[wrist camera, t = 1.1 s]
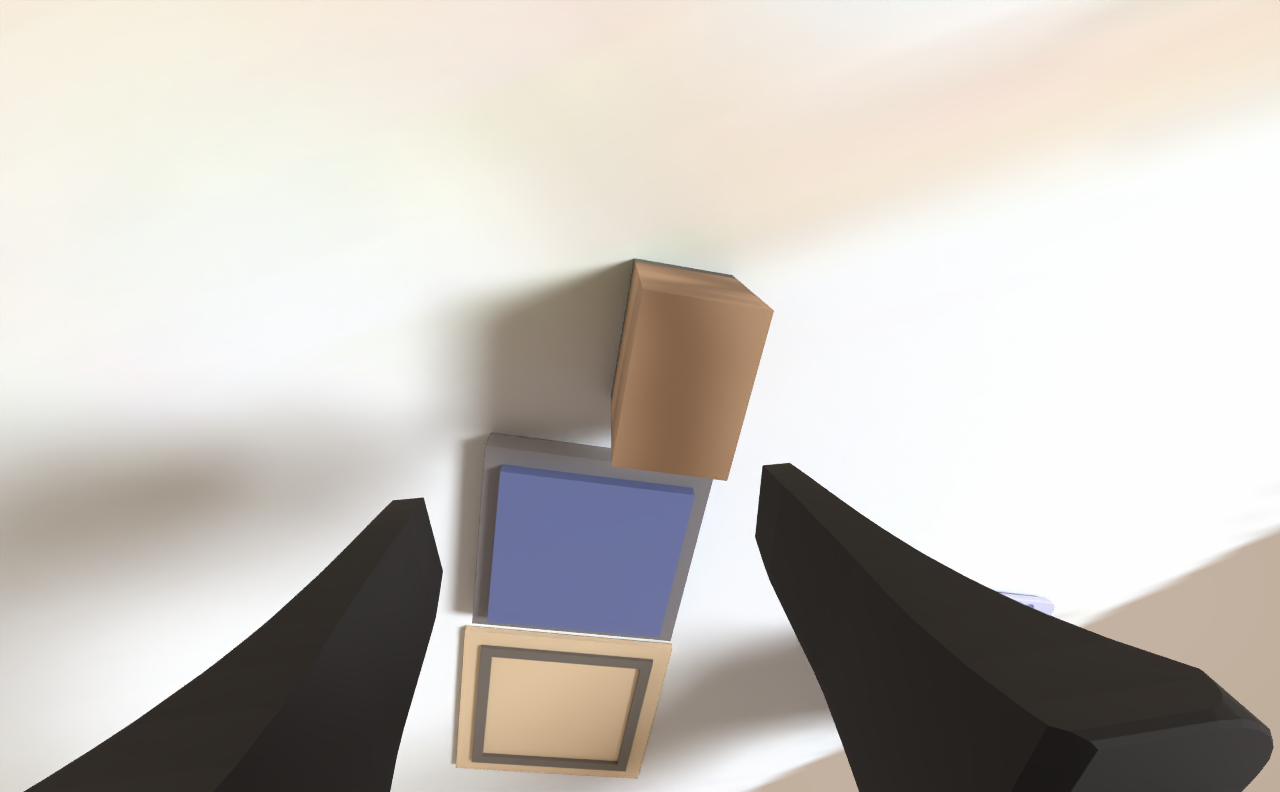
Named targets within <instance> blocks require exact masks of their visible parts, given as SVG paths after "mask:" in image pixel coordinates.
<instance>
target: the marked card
mask: <svg viewBox="0 0 1280 792" xmlns="http://www.w3.org/2000/svg"><path fill="white" fill-rule="evenodd" d="M671 651H672V644H665V643H654V642H643V641H632V640H620V639H609V638H598V637H587V636H576V635H564V634H553V633H542V632H531V631H520V630H508V629H497V628H486V627H475V626H466V629H465V638H464V654H463V669H462V684H461V699H460V714H459V730H458V745H457V760H456V768H469V769H486V770H503V771H520V772H536V773H553V774H570V775H587V776H604V777H621V778H637V779H638V775H639V771H640V767H641V764H642V760H643V756H644V752H645V749H646V745H647V741H648V738H649V734H650V730H651V726H652V723H653V719H654V715H655V711H656V708H657V704H658V700H659V696H660V693H661V689H662V685H663V681H664V678H665V674H666V670H667V666H668V663H669V659H670V655H671Z"/></svg>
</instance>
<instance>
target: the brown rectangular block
mask: <svg viewBox="0 0 1280 792" xmlns="http://www.w3.org/2000/svg"><path fill="white" fill-rule="evenodd" d="M773 312H774V310H773V309H771V308H770V307H769V306H768V305H767V304H765V303H764V302H763V301H762V300H761V299H760V298H758V297H757V296H756V295H755V294H754V293H752V292H751V291H750V290H749V289H748V288H747V287H745V286H744V285H743V284H742V283H741V282H739V281H738V280H737V279H736V278H735V277H734V276H732V275H728V274H722V273H716V272H710V271H704V270H699V269H693V268H687V267H681V266H675V265H670V264H664V263H658V262H652V261H646V260H640V259H635V258H634V264H633V270H632V276H631V282H630V288H629V294H628V299H627V305H626V311H625V317H624V323H623V329H622V335H621V341H620V347H619V353H618V359H617V365H616V371H615V377H614V383H613V389H612V395H611V466H614V467H622V468H629V469H637V470H645V471H653V472H661V473H669V474H677V475H685V476H693V477H701V478H709V479H717V480H725V481H727V479H728V475H729V472H730V468H731V465H732V461H733V457H734V454H735V450H736V446H737V443H738V439H739V435H740V432H741V428H742V425H743V421H744V417H745V414H746V410H747V406H748V403H749V399H750V395H751V392H752V388H753V385H754V381H755V377H756V374H757V370H758V366H759V363H760V359H761V356H762V352H763V348H764V345H765V341H766V337H767V334H768V330H769V326H770V323H771V319H772V316H773Z"/></svg>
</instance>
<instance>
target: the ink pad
mask: <svg viewBox="0 0 1280 792" xmlns="http://www.w3.org/2000/svg"><path fill="white" fill-rule="evenodd" d="M712 481H713V479H709V478H701V477H693V476H685V475H677V474H669V473H661V472H653V471H645V470H637V469H629V468H622V467H614V466H611V448H604V447H597V446H589V445H581V444H573V443H566V442H558V441H550V440H543V439H535V438H527V437H520V436H512V435H504V434H497V433H491V434H490V436H489V438H488V440H487V443H486V445H485V454H484V467H483V481H482V495H481V509H480V523H479V537H478V551H477V564H476V578H475V592H474V606H473V620H472V623H477V624H488V625H499V626H510V627H521V628H532V629H544V630H555V631H566V632H577V633H588V634H599V635H610V636H621V637H633V638H644V639H655V640H666V641H670V640H671V637H672V633H673V629H674V625H675V621H676V618H677V614H678V610H679V606H680V602H681V599H682V595H683V591H684V587H685V583H686V580H687V576H688V572H689V568H690V564H691V561H692V557H693V553H694V549H695V545H696V542H697V538H698V534H699V530H700V526H701V523H702V519H703V515H704V511H705V508H706V504H707V500H708V496H709V492H710V489H711V485H712Z"/></svg>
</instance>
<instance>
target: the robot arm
mask: <svg viewBox="0 0 1280 792" xmlns="http://www.w3.org/2000/svg"><path fill="white" fill-rule="evenodd" d="M755 538H756V541H757V544H758V548H759V551H760V554H761V557H762V560H763V563H764V566H765V569H766V571H767V574H768V577H769V580H770V582H771V584H772V586H773V588H774V590H775V592H776V595H777V597H778V599H779V601H780V603H781V605H782V607H783V609H784V611H785V613H786V615H787V617H788V620H789V622H790V624H791V626H792V628H793V630H794V632H795V634H796V636H797V638H798V640H799V642H800V644H801V646H802V648H803V650H804V652H805V654H806V656H807V659H808V661H809V663H810V665H811V667H812V669H813V671H814V673H815V675H816V678H817V680H818V682H819V684H820V687H821V689H822V691H823V693H824V696H825V699H826V701H827V704H828V707H829V709H830V712H831V715H832V717H833V720H834V723H835V725H836V728H837V731H838V733H839V736H840V739H841V741H842V744H843V747H844V750H845V753H846V755H847V758H848V761H849V764H850V767H851V770H852V772H853V775H854V778H855V781H856V784H857V787H858V789H859V792H1242V791H1243V790H1244V789H1245V788H1246V786H1248V784H1250V782H1251V781H1252V780H1253V779H1254V778H1255V777H1256V776H1257V775H1258V774H1259V773H1260V771H1261V770H1262V769H1263V767H1264V766H1265V765H1266V763H1267V762H1268V761H1269V759H1270V756H1271V753H1272V750H1273V739H1272V736H1271V732H1270V729H1269V728H1268V727H1267V726H1266V725H1264V724H1263V723H1262V722H1261V721H1260V720H1259V719H1257V718H1256V717H1255V716H1254V715H1253V714H1252V713H1250V712H1249V711H1248V710H1247V709H1246V708H1245V707H1244V706H1242V705H1241V704H1240V703H1239V702H1238V701H1237V700H1235V699H1234V698H1233V697H1232V696H1231V695H1230V694H1229V693H1227V692H1226V691H1225V690H1224V689H1223V688H1222V687H1221V686H1219V685H1218V684H1217V683H1216V682H1215V681H1214V680H1212V679H1211V678H1210V677H1209V676H1207V674H1205V673H1204V672H1203V671H1202V670H1200V669H1198V668H1195V667H1192V666H1189V665H1186V664H1184V663H1181V662H1177V661H1175V660H1171V659H1169V658H1166V657H1163V656H1160V655H1156V654H1154V653H1151V652H1147V651H1145V650H1142V649H1139V648H1136V647H1133V646H1130V645H1127V644H1124V643H1121V642H1118V641H1115V640H1112V639H1109V638H1106V637H1104V636H1101V635H1099V634H1096V633H1094V632H1091V631H1088V630H1086V629H1083V628H1081V627H1078V626H1075V625H1073V624H1070V623H1068V622H1065V621H1063V620H1060V619H1058V618H1055V617H1053V616H1050V615H1051V614H1052V612H1053V610H1054V604H1053V603H1052V602H1051V601H1050V600H1049V599H1048V598H1042V597H1033V596H1024V595H1015V594H1005V593H998V592H996V591H994V590H992V589H990V588H988V587H985V586H983V585H981V584H979V583H977V582H975V581H973V580H971V579H969V578H967V577H965V576H963V575H962V574H960V573H958V572H956V571H954V570H952V569H950V568H949V567H947V566H945V565H943V564H941V563H939V562H937V561H936V560H934V559H932V558H930V557H928V556H927V555H925V554H923V553H921V552H920V551H918V550H916V549H915V548H913V547H911V546H910V545H908V544H907V543H905V542H903V541H902V540H900V539H899V538H897V537H895V536H894V535H892V534H891V533H889V532H887V531H886V530H884V529H883V528H881V527H880V526H878V525H877V524H875V523H874V522H872V521H871V520H869V519H868V518H866V517H865V516H863V515H862V514H860V513H859V512H857V511H856V510H855V509H853V508H852V507H850V506H849V505H847V504H846V503H845V502H843V501H842V500H840V499H839V498H838V497H836V496H835V495H834V494H832V493H831V492H829V491H828V490H827V489H825V488H824V487H823V486H821V485H820V484H818V483H817V482H816V481H814V480H813V479H812V478H810V477H809V476H808V475H806V474H805V473H803V472H802V471H801V470H799V469H798V468H796V467H795V466H793V465H792V464H790V463H784V464H773V465H763V467H762V477H761V486H760V496H759V505H758V515H757V524H756V534H755ZM442 573H443V570H442V566H441V562H440V558H439V555H438V551H437V547H436V543H435V539H434V536H433V532H432V528H431V524H430V520H429V516H428V513H427V509H426V505H425V501H424V498H414V499H403V500H393V501H392V502H391V503H390V504H389V505H388V506H387V507H386V508H385V509H384V510H383V511H382V512H381V513H380V514H379V515H378V516H377V517H376V518H375V519H374V520H373V521H372V522H371V523H370V524H369V525H368V526H367V527H366V528H365V529H364V530H363V531H362V532H361V533H360V534H359V535H358V536H357V537H356V538H355V539H354V540H353V541H352V542H351V543H350V544H349V545H348V546H347V547H346V548H345V549H344V550H343V551H342V552H341V553H340V554H339V555H338V556H337V557H336V558H335V559H334V560H333V561H332V562H331V563H330V564H329V565H328V566H327V567H326V568H325V569H324V570H323V571H322V572H321V573H320V574H319V575H318V576H317V577H316V578H315V579H314V580H312V581H311V582H310V583H309V584H308V585H307V586H306V587H305V588H304V589H303V590H302V591H300V592H299V593H298V594H297V595H296V596H295V597H294V598H293V599H292V600H291V601H289V602H288V603H287V604H286V605H285V606H284V607H283V608H282V609H281V610H280V611H279V612H277V613H276V614H275V615H274V616H273V617H272V618H271V619H270V620H268V621H267V622H266V623H265V624H264V625H263V626H261V627H260V628H259V629H258V630H256V631H255V632H254V633H253V634H252V635H250V636H249V637H248V638H247V639H246V640H244V641H243V642H242V643H241V644H239V645H238V646H237V647H235V648H234V649H233V650H232V651H230V652H229V653H228V654H227V655H225V656H224V657H223V658H222V659H220V660H219V661H218V662H217V663H215V664H214V665H213V666H211V667H210V668H209V669H207V670H206V671H205V672H203V673H202V674H201V675H199V676H198V677H196V678H195V679H194V680H192V681H191V682H189V683H188V684H187V685H185V686H184V687H182V688H181V689H180V690H178V691H177V692H175V693H174V694H172V695H171V696H170V697H168V698H167V699H165V700H164V701H163V702H161V703H160V704H158V705H157V706H156V707H154V708H153V709H151V710H150V711H149V712H147V713H146V714H144V715H143V716H142V717H140V718H139V719H137V720H136V721H134V722H133V723H131V724H130V725H128V726H127V727H125V728H124V729H122V730H121V731H119V732H118V733H116V734H115V735H113V736H112V737H110V738H109V739H107V740H106V741H104V742H102V743H101V744H99V745H98V746H96V747H95V748H93V749H92V750H90V751H89V752H87V753H85V754H84V755H82V756H81V757H79V758H77V759H76V760H74V761H73V762H71V763H69V764H68V765H66V766H65V767H63V768H62V769H60V770H58V771H57V772H55V773H54V774H52V775H50V776H49V777H47V778H46V779H44V780H42V781H41V782H39V783H37V784H36V785H34V786H32V787H31V788H29V789H27V790H26V791H24V792H390V790H391V784H392V779H393V774H394V769H395V763H396V758H397V754H398V750H399V746H400V742H401V738H402V734H403V730H404V726H405V723H406V719H407V716H408V712H409V709H410V706H411V702H412V699H413V695H414V692H415V688H416V685H417V681H418V678H419V675H420V671H421V668H422V664H423V661H424V657H425V654H426V650H427V647H428V643H429V640H430V636H431V633H432V629H433V626H434V622H435V618H436V613H437V607H438V601H439V594H440V587H441V580H442Z"/></svg>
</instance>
